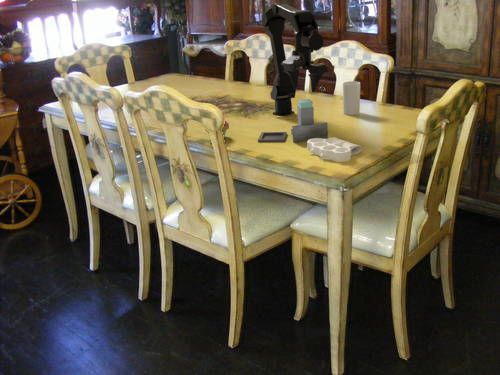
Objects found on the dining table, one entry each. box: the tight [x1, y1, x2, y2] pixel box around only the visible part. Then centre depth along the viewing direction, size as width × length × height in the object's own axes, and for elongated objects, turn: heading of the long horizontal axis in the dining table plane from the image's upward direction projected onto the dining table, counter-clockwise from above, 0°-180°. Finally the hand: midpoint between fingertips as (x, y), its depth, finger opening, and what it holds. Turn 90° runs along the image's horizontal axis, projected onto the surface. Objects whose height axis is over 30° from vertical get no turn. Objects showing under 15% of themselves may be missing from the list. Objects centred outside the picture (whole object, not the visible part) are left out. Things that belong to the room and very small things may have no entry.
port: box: [290, 121, 329, 144], centre depth 209 cm, size 10×12×6 cm
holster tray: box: [257, 131, 288, 143], centre depth 211 cm, size 9×9×1 cm
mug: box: [342, 80, 361, 116], centre depth 236 cm, size 10×7×12 cm, turn 17°
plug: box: [297, 98, 315, 125], centre depth 209 cm, size 4×4×13 cm
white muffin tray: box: [306, 136, 363, 163], centre depth 193 cm, size 3×18×15 cm
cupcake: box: [205, 104, 230, 138], centre depth 213 cm, size 9×8×12 cm
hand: (304, 90), depth 221 cm, fingers open, 9 cm apart
